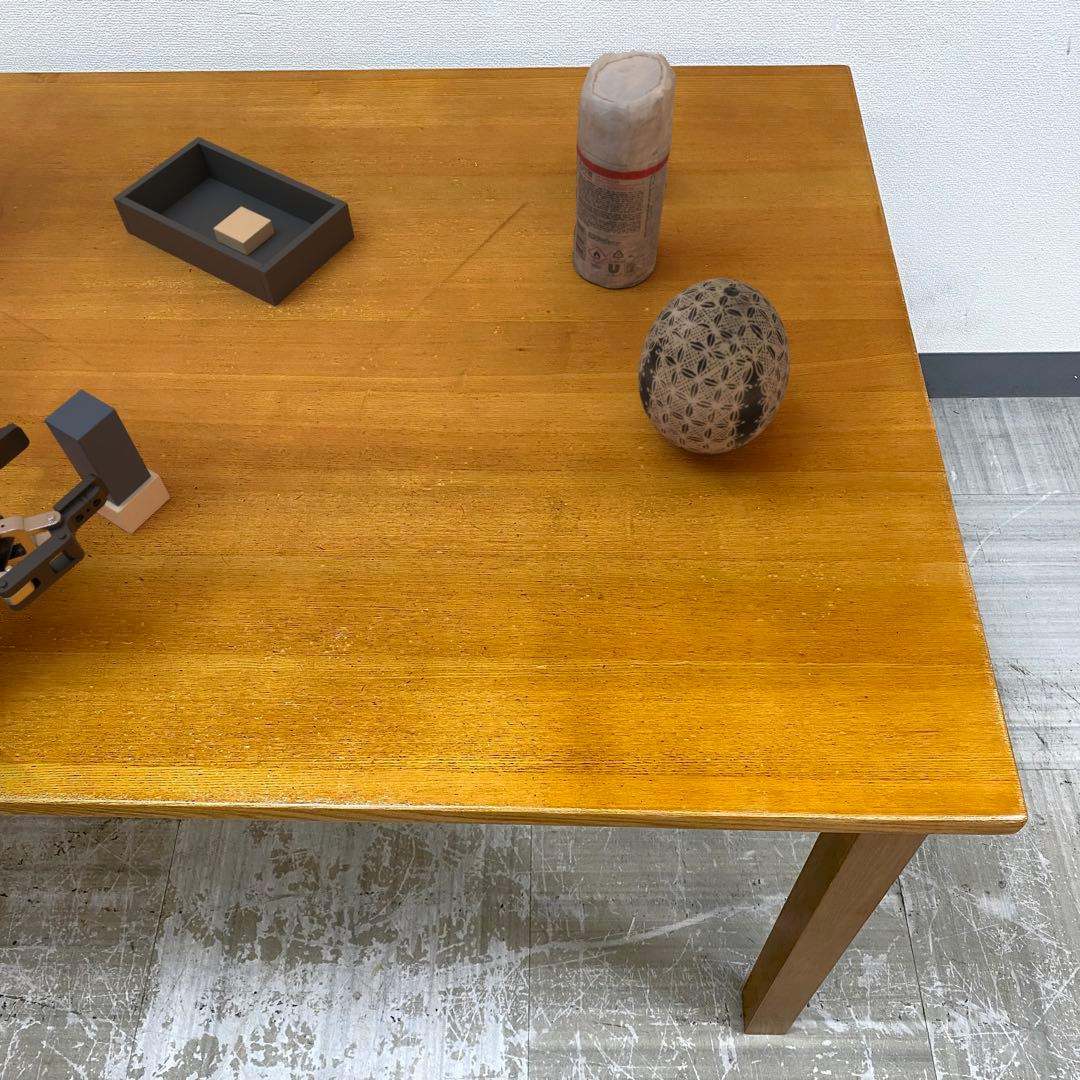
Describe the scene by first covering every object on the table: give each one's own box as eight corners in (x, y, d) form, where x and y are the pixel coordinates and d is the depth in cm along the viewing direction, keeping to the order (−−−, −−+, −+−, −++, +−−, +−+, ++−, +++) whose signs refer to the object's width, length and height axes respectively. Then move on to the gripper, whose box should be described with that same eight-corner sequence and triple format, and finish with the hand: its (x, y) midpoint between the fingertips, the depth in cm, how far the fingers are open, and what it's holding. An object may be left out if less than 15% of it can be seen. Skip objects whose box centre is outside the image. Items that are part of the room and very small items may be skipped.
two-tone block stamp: (93, 510, 82) (34, 420, 73) (133, 474, 84) (81, 382, 75) (131, 534, 81) (76, 446, 72) (171, 497, 83) (123, 407, 74)
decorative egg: (611, 400, 88) (619, 264, 75) (732, 364, 90) (760, 225, 78) (669, 502, 82) (688, 371, 69) (797, 459, 84) (839, 326, 71)
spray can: (677, 269, 97) (701, 72, 81) (609, 305, 95) (619, 109, 78) (622, 223, 101) (635, 26, 84) (555, 256, 98) (555, 59, 82)
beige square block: (217, 241, 100) (212, 228, 98) (245, 219, 101) (241, 205, 100) (247, 256, 98) (243, 242, 97) (275, 233, 100) (271, 219, 99)
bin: (129, 236, 101) (112, 198, 97) (211, 175, 106) (198, 136, 103) (276, 311, 95) (264, 272, 91) (355, 242, 100) (347, 202, 96)
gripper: (-91, 645, 61) (110, 466, 68) (-231, 538, 65) (-28, 381, 73) (-31, 699, 67) (148, 529, 75) (-163, 597, 72) (18, 447, 79)
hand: (61, 456), depth 74 cm, fingers open, 8 cm apart
